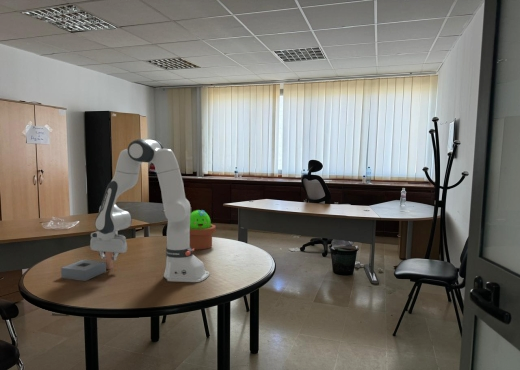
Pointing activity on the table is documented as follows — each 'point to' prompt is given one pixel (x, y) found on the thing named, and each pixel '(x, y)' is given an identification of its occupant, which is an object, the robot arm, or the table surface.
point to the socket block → (83, 270)
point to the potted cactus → (201, 230)
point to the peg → (109, 260)
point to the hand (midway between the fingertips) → (109, 259)
